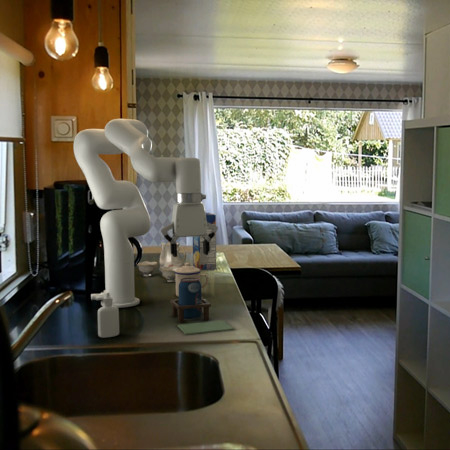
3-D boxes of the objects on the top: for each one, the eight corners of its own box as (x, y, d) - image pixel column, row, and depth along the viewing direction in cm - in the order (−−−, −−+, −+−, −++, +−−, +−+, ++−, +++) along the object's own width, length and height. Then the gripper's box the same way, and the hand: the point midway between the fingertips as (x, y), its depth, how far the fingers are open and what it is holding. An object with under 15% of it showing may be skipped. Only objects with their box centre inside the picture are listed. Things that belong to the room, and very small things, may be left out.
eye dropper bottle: (99, 334, 180) (97, 291, 179) (119, 333, 181) (118, 291, 180) (97, 338, 176) (96, 295, 174) (118, 337, 177) (117, 294, 175)
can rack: (178, 323, 192) (177, 306, 191) (170, 315, 201) (170, 299, 200) (211, 320, 195) (211, 303, 195) (202, 312, 205) (201, 297, 204)
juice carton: (192, 266, 292) (192, 213, 289) (209, 265, 294) (208, 212, 292) (199, 270, 280) (199, 215, 278) (216, 269, 283) (215, 214, 281)
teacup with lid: (177, 298, 225) (176, 265, 224) (173, 293, 234) (172, 261, 232) (211, 296, 228) (210, 263, 227) (206, 291, 237) (205, 259, 236)
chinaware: (130, 279, 268) (125, 240, 265) (161, 270, 281) (157, 232, 277) (174, 288, 250) (169, 246, 247) (205, 278, 262) (201, 238, 259)
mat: (185, 334, 179) (185, 333, 179) (177, 326, 189) (177, 324, 189) (233, 329, 185) (233, 328, 184) (223, 321, 194) (223, 320, 194)
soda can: (202, 320, 195) (201, 281, 194) (179, 321, 194) (178, 281, 193) (201, 314, 202) (200, 276, 201) (178, 315, 201) (178, 277, 200)
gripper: (213, 197, 201) (214, 252, 203) (157, 199, 195) (159, 255, 196) (220, 198, 194) (221, 255, 196) (163, 200, 188) (164, 259, 189)
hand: (190, 255), depth 196 cm, fingers open, 9 cm apart
